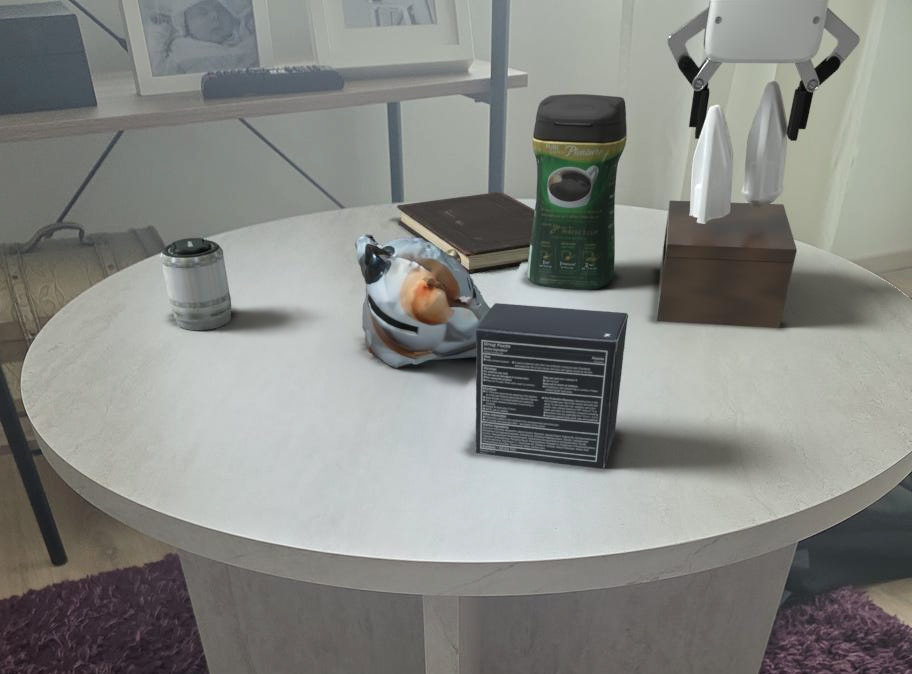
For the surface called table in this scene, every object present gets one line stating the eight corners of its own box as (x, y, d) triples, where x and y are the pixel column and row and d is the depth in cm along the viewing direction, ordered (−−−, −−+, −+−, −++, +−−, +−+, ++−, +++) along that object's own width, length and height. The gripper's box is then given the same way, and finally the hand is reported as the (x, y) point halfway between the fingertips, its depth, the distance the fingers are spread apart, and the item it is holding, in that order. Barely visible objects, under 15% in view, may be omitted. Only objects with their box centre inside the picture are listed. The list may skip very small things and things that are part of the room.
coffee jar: (617, 274, 106) (637, 89, 94) (605, 297, 100) (625, 103, 88) (535, 267, 108) (545, 86, 96) (519, 289, 102) (527, 100, 90)
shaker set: (764, 196, 96) (788, 74, 89) (794, 205, 93) (820, 79, 86) (674, 215, 92) (690, 87, 84) (702, 225, 89) (721, 94, 82)
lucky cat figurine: (528, 344, 90) (531, 234, 77) (447, 425, 87) (437, 325, 74) (416, 271, 94) (401, 156, 81) (336, 346, 92) (308, 239, 79)
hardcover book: (466, 274, 107) (466, 253, 105) (397, 223, 123) (397, 205, 122) (586, 255, 111) (588, 235, 110) (504, 208, 128) (505, 191, 126)
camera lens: (228, 306, 100) (215, 231, 95) (238, 326, 95) (226, 248, 90) (170, 315, 98) (154, 238, 93) (178, 335, 94) (162, 256, 89)
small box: (616, 437, 75) (632, 309, 68) (605, 475, 70) (620, 341, 63) (491, 422, 77) (494, 297, 71) (472, 458, 72) (473, 328, 66)
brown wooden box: (767, 280, 103) (783, 204, 98) (778, 333, 91) (797, 249, 86) (659, 274, 105) (669, 200, 100) (655, 326, 93) (667, 244, 88)
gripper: (887, -99, 78) (834, 130, 89) (679, -94, 81) (653, 127, 92) (903, -98, 72) (844, 147, 84) (679, -92, 76) (651, 143, 87)
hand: (744, 136), depth 88 cm, fingers closed on shaker set, 8 cm apart
